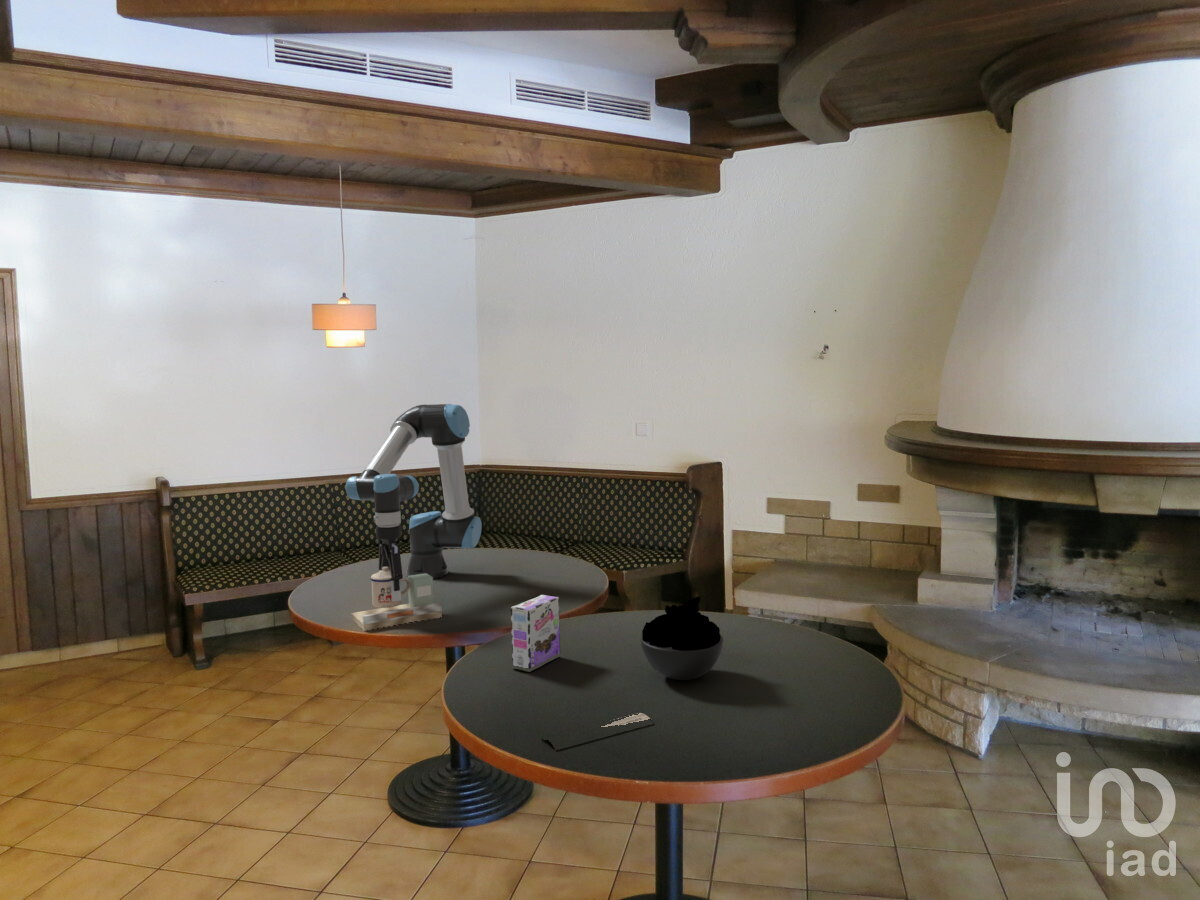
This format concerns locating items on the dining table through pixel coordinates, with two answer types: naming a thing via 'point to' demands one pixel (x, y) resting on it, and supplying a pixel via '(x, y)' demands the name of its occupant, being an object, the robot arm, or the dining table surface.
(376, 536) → the robot arm
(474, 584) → the dining table surface
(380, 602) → the teacup with lid
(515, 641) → the candy box
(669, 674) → the bowl of black rocks
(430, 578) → the tin
